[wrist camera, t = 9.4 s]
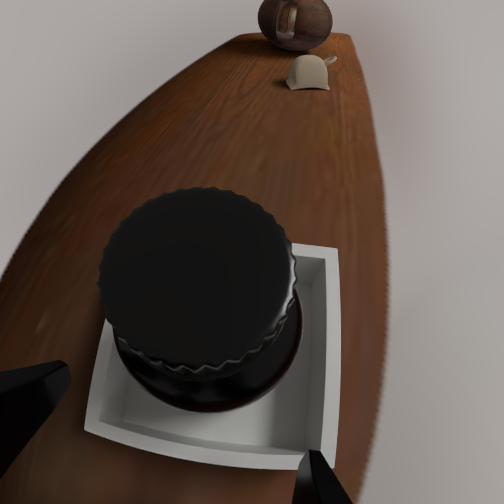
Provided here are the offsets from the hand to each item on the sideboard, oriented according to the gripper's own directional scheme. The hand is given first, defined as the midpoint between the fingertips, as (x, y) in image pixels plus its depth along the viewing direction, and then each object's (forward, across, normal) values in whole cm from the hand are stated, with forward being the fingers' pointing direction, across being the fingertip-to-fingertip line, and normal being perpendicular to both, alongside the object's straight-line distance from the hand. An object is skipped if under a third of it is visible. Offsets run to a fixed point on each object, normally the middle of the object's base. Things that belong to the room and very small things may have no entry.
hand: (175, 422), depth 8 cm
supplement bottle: (+8, 0, +3) cm, 9 cm away
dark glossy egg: (+50, +5, -39) cm, 64 cm away
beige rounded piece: (+37, 0, -26) cm, 45 cm away
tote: (+9, 0, +3) cm, 10 cm away
